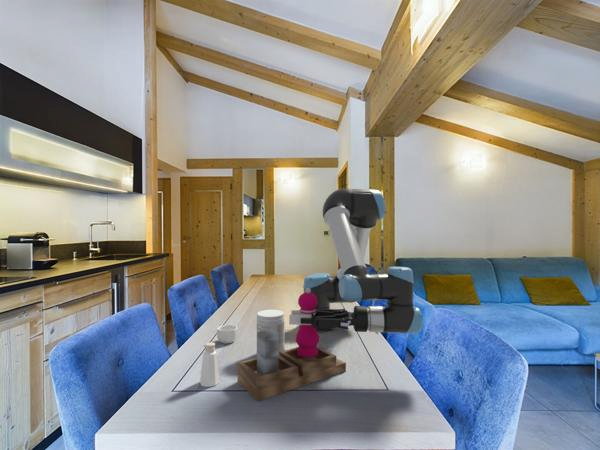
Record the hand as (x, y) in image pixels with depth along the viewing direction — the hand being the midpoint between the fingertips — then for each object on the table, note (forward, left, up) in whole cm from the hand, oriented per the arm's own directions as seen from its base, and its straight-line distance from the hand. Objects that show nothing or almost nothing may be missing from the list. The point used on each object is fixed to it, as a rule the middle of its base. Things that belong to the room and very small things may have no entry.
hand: (290, 316), depth 100 cm
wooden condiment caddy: (+1, +3, -17) cm, 17 cm away
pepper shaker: (+23, -7, -17) cm, 29 cm away
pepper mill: (-4, +3, -11) cm, 12 cm away
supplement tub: (-1, -14, -17) cm, 22 cm away
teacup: (+5, -36, -17) cm, 40 cm away
